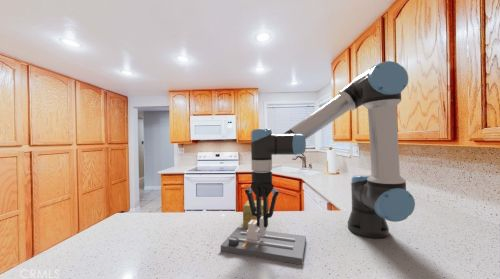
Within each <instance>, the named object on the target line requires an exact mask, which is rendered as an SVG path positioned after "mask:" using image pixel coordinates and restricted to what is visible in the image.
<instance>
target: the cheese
mask: <svg viewBox="0 0 500 279" xmlns="http://www.w3.org/2000/svg"><path fill="white" fill-rule="evenodd" d="M254 202H255V207H256V199H254ZM261 214H262V215H261V216H263V199H261ZM254 219H255V220H257V217H256V216H252V213H251V209H250V205H249V200H248V199H247V200H246V202H245V204H244V205H243V206H242V226H243V228H248V223H249V222H250V221H251V220H254ZM259 228H260V227H259ZM266 229H267V227H265V230H266Z"/></svg>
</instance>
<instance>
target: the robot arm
mask: <svg viewBox="0 0 500 279" xmlns="http://www.w3.org/2000/svg"><path fill="white" fill-rule="evenodd" d="M408 83H409V74H408V72H407V70H406V68H405V67H404V66H403V65H401V64H400V63H398V62H396V61H389V60H387V61H386V60H385V61H382V62H379V63H377V64H374V65H372V67H370V68H369V69H367V70H366V71H364V72H363V73H361V74H360V75H358V76H357V77H356V78H354V79H353V80H352V81H351V82H350V83H348V85H347V86H345V87H344V88H343V89H342V90H340V91H339V92H338V95H337V96H335V97H334V98H332V99H331V100H330V101H329V102H327V103H326V104H324V105H322V107H320V108H318V109H317V110H315V111H314V112H312V113H311V114H310V115H308V116H307V117H305V118H304V119H302V120H301V121H300V122H298V123H296V124H295V125H293V126H292V127H291V128H290V129H289V130H287V131H285V132H283V133H281V134H279V133H278V134H276V133H273V132H272V129H271V128H254V129H253V130H252V131H251V134H250V136H251V137H250V138H251V139H250V140H251V141H250V149H251V153H250V154H251V171H252V172H251V184H250V187H248V188H246V189H244V193H245V194H246V196H247V200H249V205H250V209H251V213H252V216H256V217H257V226H259V227H260V237H264V236H265V234H266V232H265V231H266V229H265V227H266V228H267V227H268V225H269V218H272V217H273V215H274V211H275V206H276V204H277V203H276V202H277V198H278V195H279V194H280V192H281V191H280V190H279V189H276V188H275V186H274V184H273V172H272V170H273V158H272V157H273V156H275V155H276V156H277V155H280V156H281V155H282V156H283V155H287V156H288V155H290V156H291V155H292V156H293V155H294V156H297V155H304V153H305V152H306V150H307V149H306V148H307V147H306V146H307V145H306V144H307V139H309V138H310V137H313V135H315V134H316V133H318V132H319V131H320V130H322V129H324V128H326V126H328V125H330V124H331V123H332V122H334V121H335V120H337V119H338V118H340V117H341V116H342V115H344V114H346V113H347V112H348V111H354V110H356V109H358V108H359V107H361V106H363V107H365V108H366V109H367V115H368V116H367V117H368V118H367V120H368V135H369V154H370V156H369V157H370V170H371V171H370V172H371V174H370V175H367V174H366V175H365V174H364V175H361V174H360V175H353V176H352V177H351V181H350V186H351V211H350V215H349V217H348V221H347V229H348V230H349V232H352V233H353V234H355V235H358V236H361V237H366V238H369V239H371V238H372V239H383V238H387V237H389V235H390V229H389V228H390V227H389V226H388V223H387V221H389V222H393V223H394V222H397V223H398V222H402V221H404V220H406V219H408V218H409V216H411V215H412V214H413V212H414V210H415V208H416V201H415V198H414V196H413V194H411V192H409V190H407V182H406V179H405V178H404V177H402V176H401V171H400V170H401V169H400V167H401V166H400V150H399V149H400V148H399V134H398V133H399V132H398V131H399V130H398V114H397V112H398V111H397V106H398V105H399V104H400V103H401V102H402V92H403V91H404V90H405V89H406V87H407V86H408ZM253 193H254V194H253ZM270 194H272V197H271V203H270V206H269V196H270ZM254 195H255V198H254ZM254 200H256V207H255V202H254ZM261 200H263V216H261V215H262V214H261Z"/></svg>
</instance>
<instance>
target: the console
mask: <svg viewBox="0 0 500 279" xmlns="http://www.w3.org/2000/svg"><path fill="white" fill-rule="evenodd" d="M247 230H248V228H244V227H239V226H238V227H237V228H235V230H234V231H232V232H231V234H229V236H228V237H227V238H226V239H225V240H224V241H223V243H221V244H220V252H223V253H229V254H235V255H241V256H246V257H251V258H258V259H264V260H265V259H266V260H270V261H277V262H281V263H282V262H283V263H287V264H292V265H293V264H294V265H299V266H303V264H304V259H305V258H304V256H305V250H306V244H307V243H306V242H307V235H301V234H294V233H288V232H287V233H286V232H279V231H271V230H270V231H269V230H265V232H266V234H265V236H264V237H260V238H259V239H258V241H254V240H247Z"/></svg>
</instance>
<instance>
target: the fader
mask: <svg viewBox="0 0 500 279" xmlns="http://www.w3.org/2000/svg"><path fill="white" fill-rule="evenodd" d="M259 238H260V228H259V226H257V220H255V219H254V220H251V221H250V222H249V223H248V230H247V240H254V241H258V239H259Z"/></svg>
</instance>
